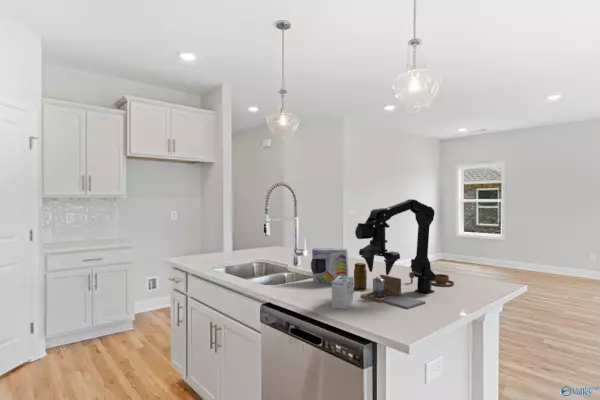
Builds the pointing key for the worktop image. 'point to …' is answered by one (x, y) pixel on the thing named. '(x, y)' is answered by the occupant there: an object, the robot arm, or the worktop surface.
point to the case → (387, 289)
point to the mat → (404, 302)
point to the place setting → (437, 280)
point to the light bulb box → (342, 292)
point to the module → (379, 287)
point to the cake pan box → (329, 264)
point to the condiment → (360, 277)
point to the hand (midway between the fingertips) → (378, 273)
